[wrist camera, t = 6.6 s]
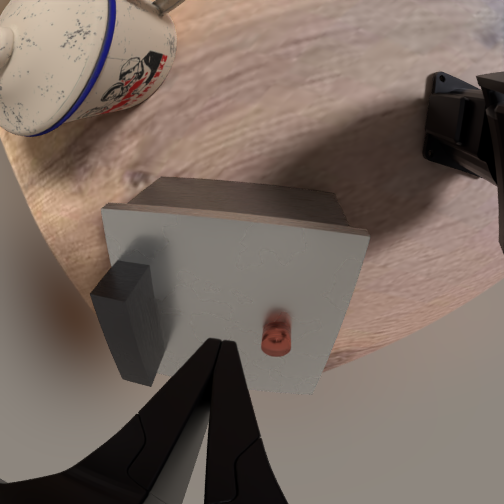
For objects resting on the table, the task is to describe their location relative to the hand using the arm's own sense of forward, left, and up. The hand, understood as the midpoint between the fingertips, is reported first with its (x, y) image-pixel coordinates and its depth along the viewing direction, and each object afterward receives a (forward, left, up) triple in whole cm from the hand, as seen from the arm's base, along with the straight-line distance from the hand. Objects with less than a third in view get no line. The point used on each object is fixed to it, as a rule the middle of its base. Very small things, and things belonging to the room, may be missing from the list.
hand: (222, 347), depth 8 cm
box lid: (+1, +5, -7) cm, 8 cm away
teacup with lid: (+9, -11, -13) cm, 19 cm away
